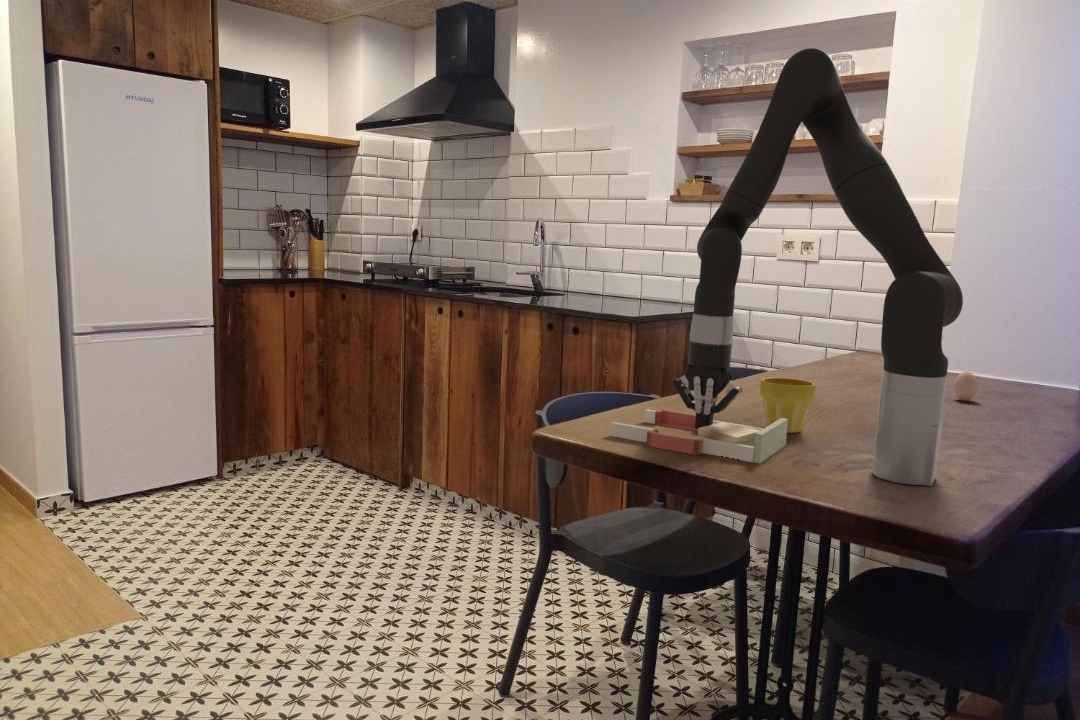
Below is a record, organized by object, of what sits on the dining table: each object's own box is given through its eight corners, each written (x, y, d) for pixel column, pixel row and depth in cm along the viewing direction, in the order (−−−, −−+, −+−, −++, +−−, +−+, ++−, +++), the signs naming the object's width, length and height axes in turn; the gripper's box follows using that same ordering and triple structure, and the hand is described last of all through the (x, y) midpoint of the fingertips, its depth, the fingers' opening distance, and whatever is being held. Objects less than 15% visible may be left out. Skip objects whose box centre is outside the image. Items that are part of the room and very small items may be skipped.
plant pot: (765, 420, 169) (769, 374, 168) (816, 428, 164) (820, 381, 163) (750, 429, 160) (754, 381, 159) (803, 438, 155) (808, 388, 154)
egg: (962, 403, 199) (966, 373, 198) (946, 398, 204) (950, 369, 203) (980, 402, 200) (984, 373, 199) (964, 398, 205) (968, 369, 204)
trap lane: (788, 443, 151) (791, 416, 150) (755, 466, 134) (758, 437, 133) (650, 419, 165) (652, 395, 165) (605, 438, 149) (606, 411, 148)
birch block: (759, 452, 145) (761, 430, 144) (735, 460, 139) (737, 437, 138) (721, 443, 150) (722, 421, 150) (696, 449, 145) (698, 428, 144)
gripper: (753, 342, 146) (744, 435, 149) (684, 334, 153) (677, 423, 156) (740, 346, 140) (731, 443, 142) (668, 337, 147) (661, 430, 149)
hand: (702, 433), depth 149 cm, fingers closed
